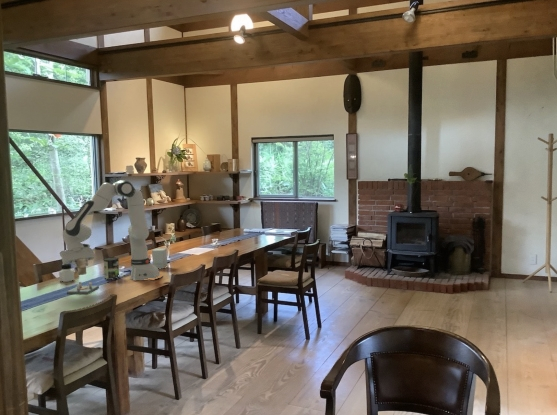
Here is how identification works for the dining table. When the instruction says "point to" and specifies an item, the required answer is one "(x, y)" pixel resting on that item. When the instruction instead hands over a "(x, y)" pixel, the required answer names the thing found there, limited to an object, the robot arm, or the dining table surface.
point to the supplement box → (159, 258)
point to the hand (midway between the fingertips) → (82, 266)
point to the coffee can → (111, 267)
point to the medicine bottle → (66, 273)
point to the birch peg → (81, 266)
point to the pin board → (82, 289)
